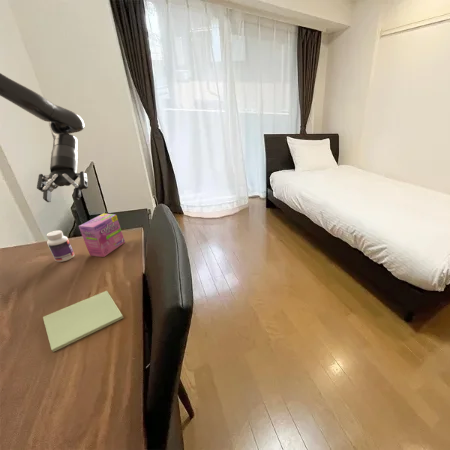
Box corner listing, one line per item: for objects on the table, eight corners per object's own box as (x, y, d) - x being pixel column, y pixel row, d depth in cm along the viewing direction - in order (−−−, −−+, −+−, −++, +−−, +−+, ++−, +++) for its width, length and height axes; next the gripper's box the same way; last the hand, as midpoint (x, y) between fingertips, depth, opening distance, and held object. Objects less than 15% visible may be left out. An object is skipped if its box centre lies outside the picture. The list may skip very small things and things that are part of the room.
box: (104, 257, 94) (92, 227, 88) (89, 256, 94) (77, 225, 89) (126, 242, 103) (116, 214, 98) (112, 241, 104) (102, 213, 98)
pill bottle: (78, 256, 94) (67, 231, 90) (59, 264, 90) (47, 238, 86) (70, 252, 97) (60, 227, 92) (52, 259, 92) (40, 234, 88)
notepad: (52, 352, 60) (51, 350, 59) (43, 319, 68) (42, 316, 68) (123, 318, 69) (122, 315, 68) (107, 292, 77) (106, 290, 77)
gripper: (34, 155, 95) (30, 197, 90) (81, 153, 99) (79, 193, 94) (48, 167, 102) (45, 206, 97) (91, 164, 106) (90, 202, 101)
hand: (62, 200), depth 96 cm, fingers open, 8 cm apart
